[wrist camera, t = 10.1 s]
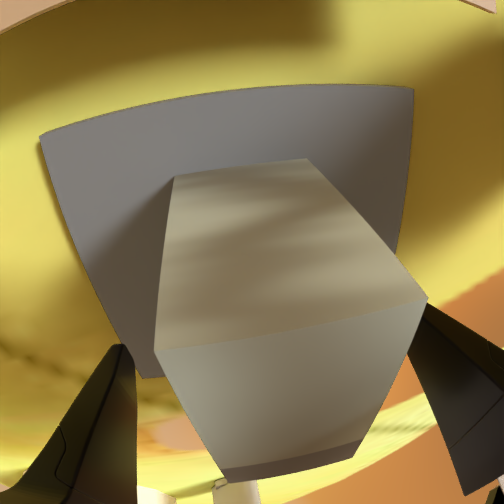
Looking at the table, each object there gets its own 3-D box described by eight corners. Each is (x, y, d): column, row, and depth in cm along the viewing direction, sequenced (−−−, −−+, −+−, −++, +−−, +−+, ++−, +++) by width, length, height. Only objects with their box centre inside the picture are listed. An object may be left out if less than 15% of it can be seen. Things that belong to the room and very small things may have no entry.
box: (306, 158, 10) (428, 297, 5) (304, 323, 15) (352, 457, 9) (174, 175, 10) (153, 351, 4) (211, 339, 15) (229, 483, 9)
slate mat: (405, 86, 10) (414, 89, 9) (370, 329, 17) (374, 337, 17) (46, 132, 9) (38, 136, 8) (142, 370, 16) (142, 378, 16)
